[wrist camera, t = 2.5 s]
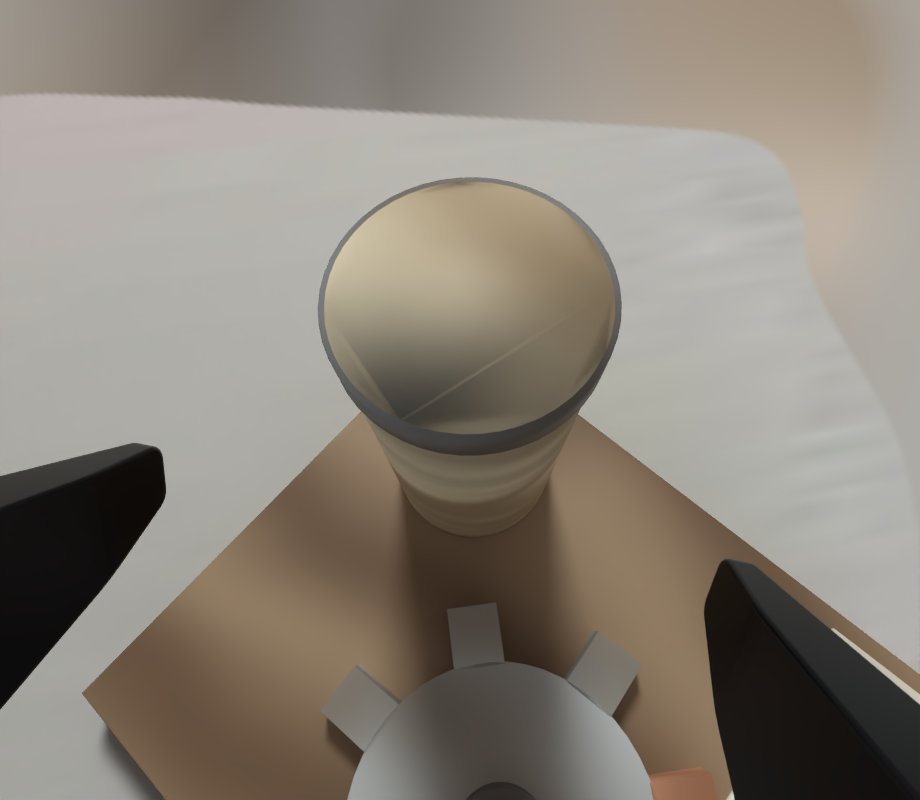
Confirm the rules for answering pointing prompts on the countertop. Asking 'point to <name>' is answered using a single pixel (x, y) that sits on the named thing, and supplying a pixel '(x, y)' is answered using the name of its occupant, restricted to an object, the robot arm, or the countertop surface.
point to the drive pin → (470, 341)
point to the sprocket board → (446, 645)
